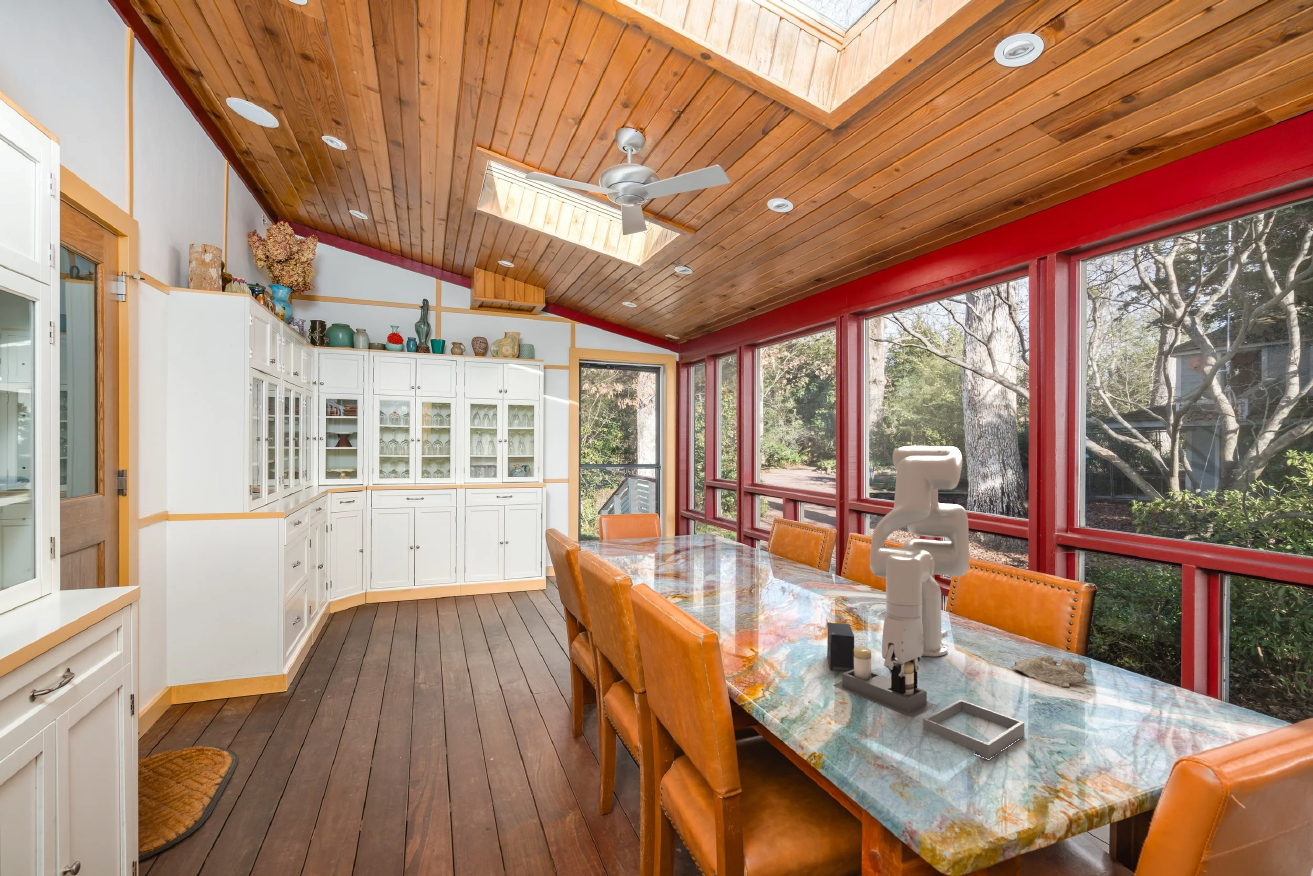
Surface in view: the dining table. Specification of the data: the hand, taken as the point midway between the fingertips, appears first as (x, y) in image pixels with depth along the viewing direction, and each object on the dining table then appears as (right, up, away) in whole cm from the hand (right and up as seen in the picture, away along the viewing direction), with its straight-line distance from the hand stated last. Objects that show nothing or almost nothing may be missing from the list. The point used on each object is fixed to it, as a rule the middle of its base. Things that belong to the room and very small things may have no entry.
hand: (904, 688), depth 136 cm
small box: (-7, -4, +24) cm, 25 cm away
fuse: (-6, -3, +9) cm, 12 cm away
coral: (+45, -4, +19) cm, 49 cm away
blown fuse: (0, -3, 0) cm, 3 cm away
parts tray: (+9, -4, -13) cm, 16 cm away
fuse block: (-3, -4, +4) cm, 7 cm away
